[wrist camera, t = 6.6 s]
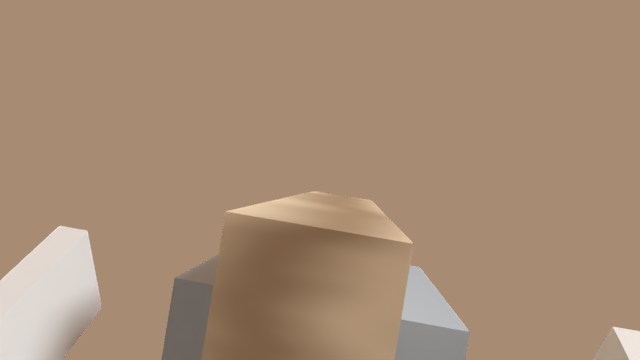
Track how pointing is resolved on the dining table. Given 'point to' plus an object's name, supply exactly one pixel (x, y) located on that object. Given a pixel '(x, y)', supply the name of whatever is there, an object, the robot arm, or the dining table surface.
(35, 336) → the robot arm
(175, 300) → the stand
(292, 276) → the tan wooden bar
